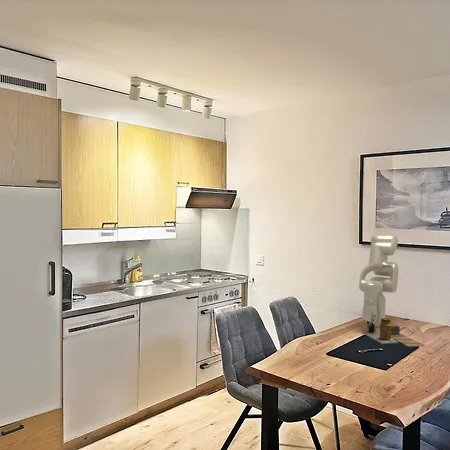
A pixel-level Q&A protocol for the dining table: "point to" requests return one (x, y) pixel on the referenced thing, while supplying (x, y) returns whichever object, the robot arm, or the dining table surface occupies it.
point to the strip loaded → (375, 334)
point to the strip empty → (403, 337)
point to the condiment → (385, 330)
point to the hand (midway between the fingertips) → (369, 331)
